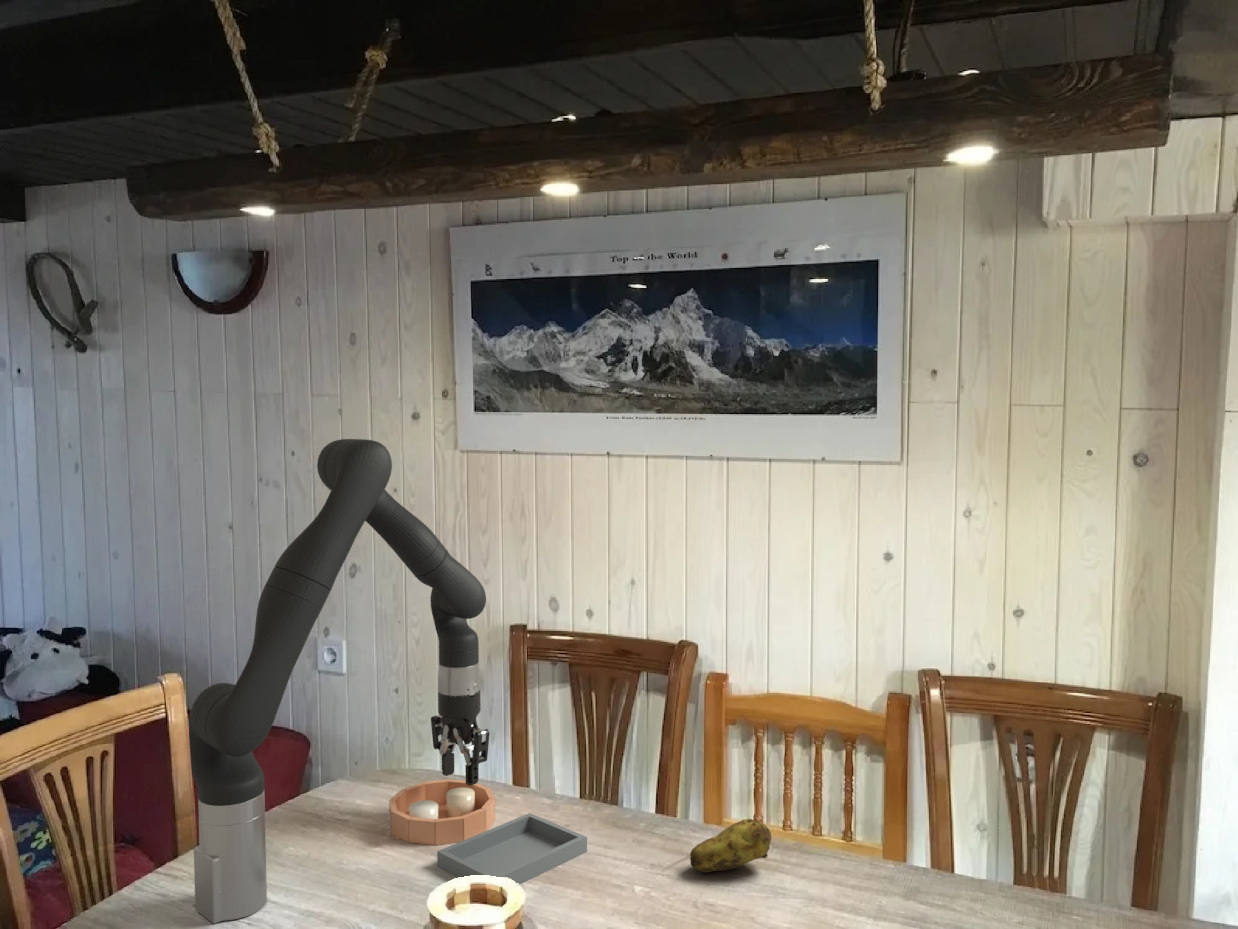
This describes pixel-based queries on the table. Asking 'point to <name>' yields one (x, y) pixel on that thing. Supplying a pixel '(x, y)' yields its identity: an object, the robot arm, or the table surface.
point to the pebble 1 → (424, 809)
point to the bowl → (440, 814)
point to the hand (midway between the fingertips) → (460, 779)
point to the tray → (513, 850)
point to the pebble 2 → (460, 802)
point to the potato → (732, 847)
